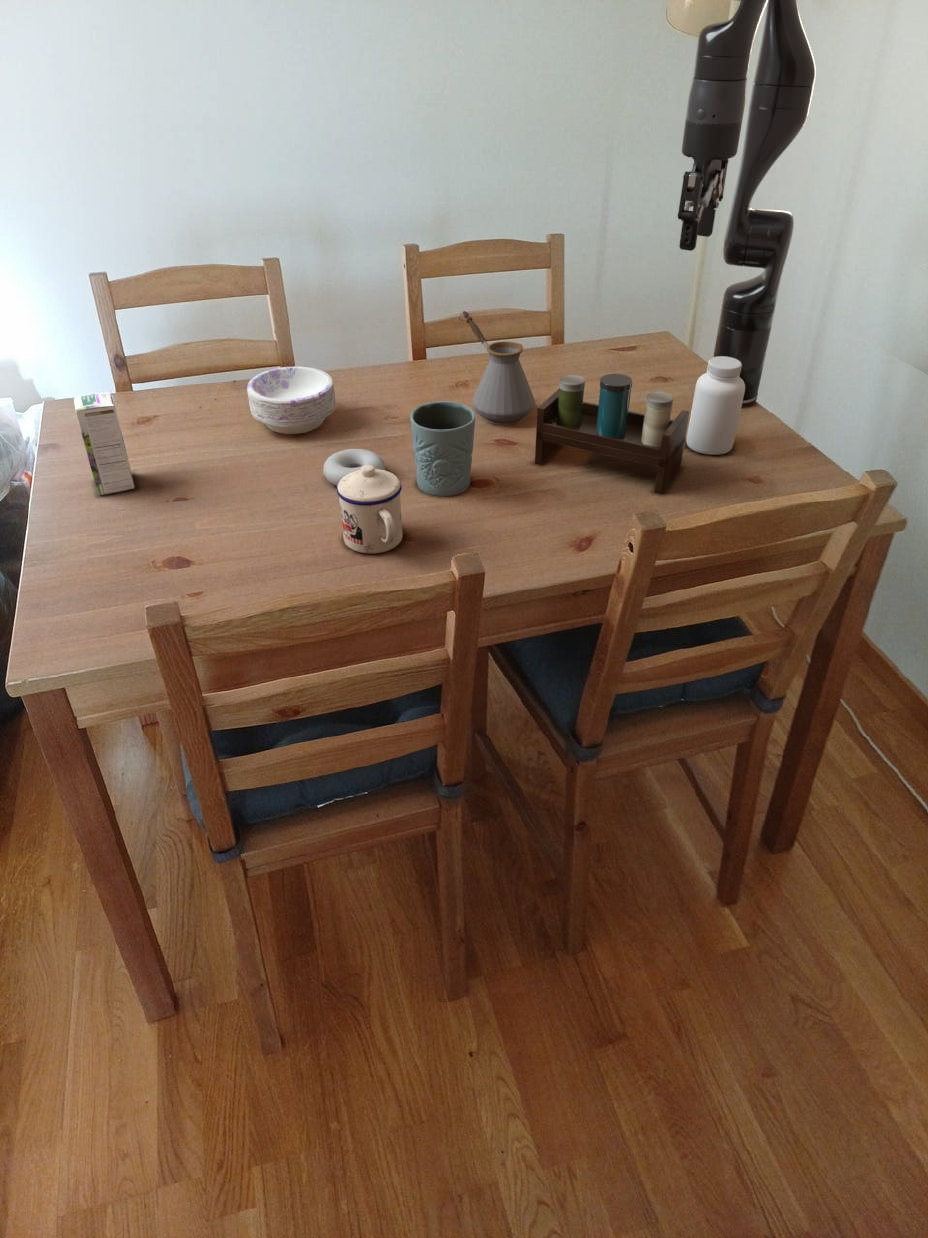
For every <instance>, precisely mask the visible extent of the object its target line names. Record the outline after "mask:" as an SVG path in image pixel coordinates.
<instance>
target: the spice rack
mask: <svg viewBox="0 0 928 1238" xmlns="http://www.w3.org/2000/svg"><path fill="white" fill-rule="evenodd" d="M585 386H586V379H585V377H583V376H581V375H578V374H577V375H576V374H566V375H565V374H564V375H562V376H560V377H559V380H558V388H557V389H556V391H554V393H552V394H551V395H550V396H548V398H547V399H545V401H543V402H542V403H541V404H540V405H539V406H538V407H537V409H536V429H535V448H534V449H535V450H534V464H535V465H538V466H542V465H543V464H544V463H545V462H546V461H547V460H548V459H550V457H551V456H552V455H553V454H554V453H556V451H557V450H558V449H559V448H560V447H561V446H563V447H569V448H573V449H578V450H583V451H587V452H590V453H595V454H599V455H604V456H608V457H613V458H616V459H617V458H618V459H622V460H624V461H625V460H626V461H630V462H633V463H634V462H635V463H639V464H642V465H643V464H644V465H647V466H648V465H649V466H652V467H657V471H656V475H655V476H656V477H655V483H654V493H655V494H659V495H662V494H663V492H664V491H665V490H666V489H667V487H668V486H669V484H670V482H671V481H672V480H673V478H675V476H676V475H677V473H678V472H679V470H680V469H681V467H682V460H683V455H684V447H685V442H686V437H687V431H688V425H689V418H690V411H689V410H684V409H682V410H681V411H680V412H679V413H678V415H676V417H675V419H671V417H672V416H671V415H672V410H673V406H674V396H673V395H672V394H670V393H669V392H665V391H652V392H649V393H647V394H646V398H645V406H644V407H645V408H644V413H641V412H636V411H631V410H629V411H628V419H627V428H626V435H625V436H624V437H622V438H619V439H617V438H613V437H608V436H604V435H599V434H597V433H596V427H597V416H598V405H599V404H598V403H592V402H587V401H584V397H585V396H584V395H585V388H586V387H585Z"/></svg>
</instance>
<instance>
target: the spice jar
mask: <svg viewBox="0 0 928 1238" xmlns="http://www.w3.org/2000/svg"><path fill="white" fill-rule="evenodd" d="M632 388H633V379H632V378H631V376H628V375H626V374H621V373H608V374H604V375H602V376H601V377H600V378H599V396H598V404H597V405H598V416H597V427H596V433H597V434H599V435H604V436H608V437H613V438H617V439H619V438H622V437H624V436H625V435H626V428H627V419H628V411H630V410H629V409H630V401H631V394H632Z"/></svg>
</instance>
